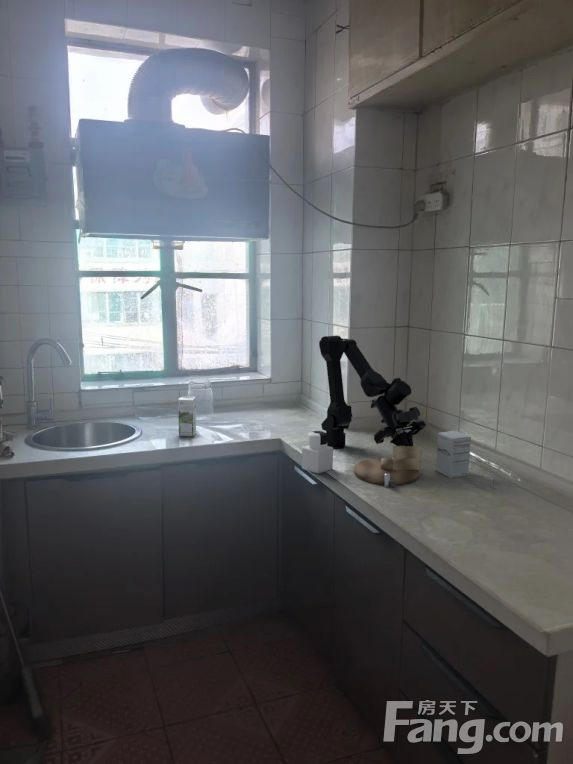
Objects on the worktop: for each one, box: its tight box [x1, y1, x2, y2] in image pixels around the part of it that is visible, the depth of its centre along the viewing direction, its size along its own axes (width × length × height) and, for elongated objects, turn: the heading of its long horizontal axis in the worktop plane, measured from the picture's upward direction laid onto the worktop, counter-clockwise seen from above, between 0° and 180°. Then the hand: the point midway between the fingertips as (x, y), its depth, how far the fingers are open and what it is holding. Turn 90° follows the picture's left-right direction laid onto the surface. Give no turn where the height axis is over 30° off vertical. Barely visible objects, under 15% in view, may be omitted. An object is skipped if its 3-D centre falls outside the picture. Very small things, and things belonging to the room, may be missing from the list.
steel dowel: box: [383, 473, 390, 489], centre depth 177 cm, size 2×2×4 cm
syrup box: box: [177, 396, 197, 438], centre depth 229 cm, size 6×6×14 cm
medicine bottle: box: [301, 430, 334, 475], centre depth 192 cm, size 7×7×12 cm
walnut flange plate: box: [353, 445, 423, 488], centre depth 187 cm, size 20×22×9 cm
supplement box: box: [435, 430, 472, 479], centre depth 189 cm, size 7×7×13 cm
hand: (413, 455), depth 188 cm, fingers closed
